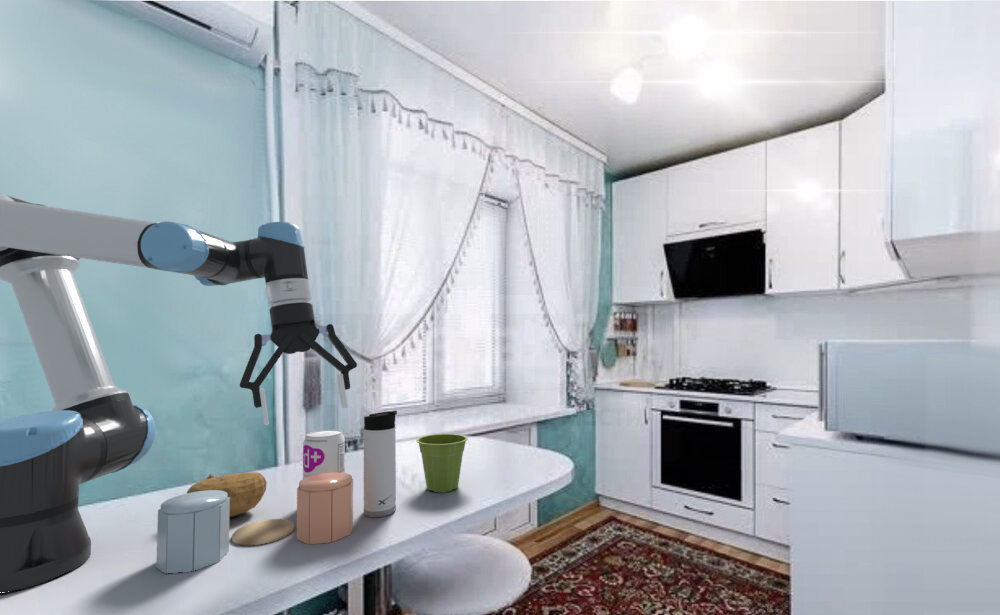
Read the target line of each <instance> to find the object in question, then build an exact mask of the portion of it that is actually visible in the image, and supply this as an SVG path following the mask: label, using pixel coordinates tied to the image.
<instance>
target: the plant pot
mask: <svg viewBox="0 0 1000 615" xmlns="http://www.w3.org/2000/svg"><path fill="white" fill-rule="evenodd" d="M468 439H469V438H468V437H467V436H466V435H463V434H456V433H435V434H428V435H423V436H420V437H418V438H417V439H416V442H417V443H418V447H419V451H420V453H421V459H422V466H423V472H424V480H425V486H426V489H427V490H428V491H433V492H435V493H448V492H452V491H453V490H456V489H457V488H458V487H459V482H460V477H461V476H460V475H461V468H462V462H463V456H464V452H465V447H466V446H465V445H466V442H467V441H468Z"/></svg>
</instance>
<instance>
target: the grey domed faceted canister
mask: <svg viewBox="0 0 1000 615" xmlns="http://www.w3.org/2000/svg"><path fill="white" fill-rule="evenodd" d="M186 493H187V492H186ZM186 493H183V494H180V495H176V496H174V497H173V496H172V497H171V498H169V499H166V500H164V501H163V502H162V503H160V508H158V510H157V525H156V526H157V528H156V530H157V532H156V535H157V536H156V563H155V564H156V565H155V567H157V568H156V569H158V570H159V571H160V570H161V572H162V573H163V572H164V573H163V574H165V575H169V574H168V573H173V574H179V573H178V572H183V573H192V572H196V571H199V570H201V569H203V568H206V567H209V566H212V565H214V564H217V563H219V562H221V560H222V559H223V558H225V556H226V555H225V554H226V553H227V554H228V553H229V551H230V518H229V511H230V498H229V497H227V495H228V494H227V492H225V491H221V490H206V491H197V492H192V493H187V494H186ZM195 570H196V571H195ZM191 571H192V572H191ZM166 573H167V574H166Z"/></svg>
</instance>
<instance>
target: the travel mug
mask: <svg viewBox="0 0 1000 615" xmlns="http://www.w3.org/2000/svg"><path fill="white" fill-rule="evenodd" d="M397 414H398V412H397V410H391V411H381V412H376V413H371V414H369V415H364V417H363V424H364V425H363V514H364V515H365V516H366V517H369V518H382V517H387V516H390V515H392V514H394V513H395V512H396V510H397V507H396V506H397V503H396V502H397V501H396V500H397V498H396V497H397V494H396V493H397V483H396V482H397V481H396V478H397V477H396V476H397V475H396V474H397V473H396V472H397V471H396V470H397V468H396V466H397V463H396V462H397V461H396V460H397V458H396V453H397V451H396V449H397V448H396V447H397V446H396V445H397V443H396V440H397V439H396V438H397V436H396V434H397V433H396V431H397V430H396V428H397V427H396V415H397Z"/></svg>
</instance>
